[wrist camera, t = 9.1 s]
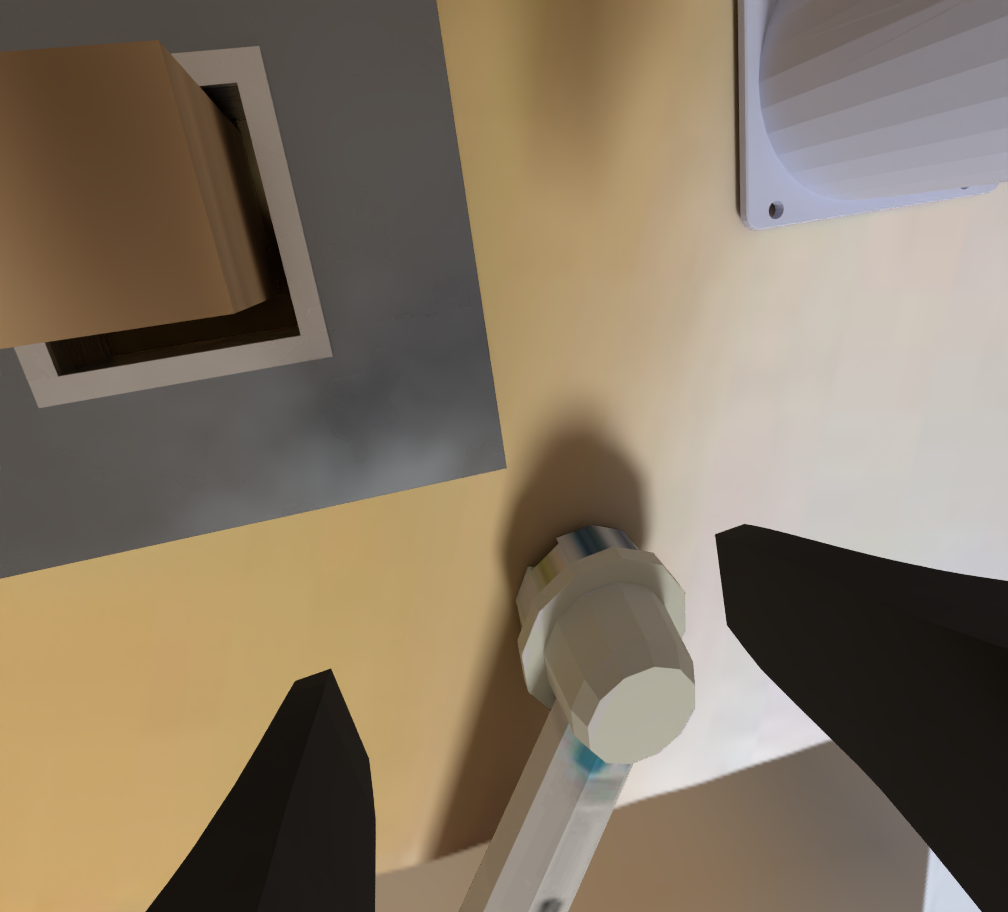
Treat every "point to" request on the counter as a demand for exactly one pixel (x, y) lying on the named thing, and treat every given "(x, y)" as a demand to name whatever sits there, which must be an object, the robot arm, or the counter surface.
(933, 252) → the counter surface
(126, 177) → the oak peg
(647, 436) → the counter surface
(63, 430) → the grey socket base
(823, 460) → the counter surface
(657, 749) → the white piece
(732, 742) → the counter surface
